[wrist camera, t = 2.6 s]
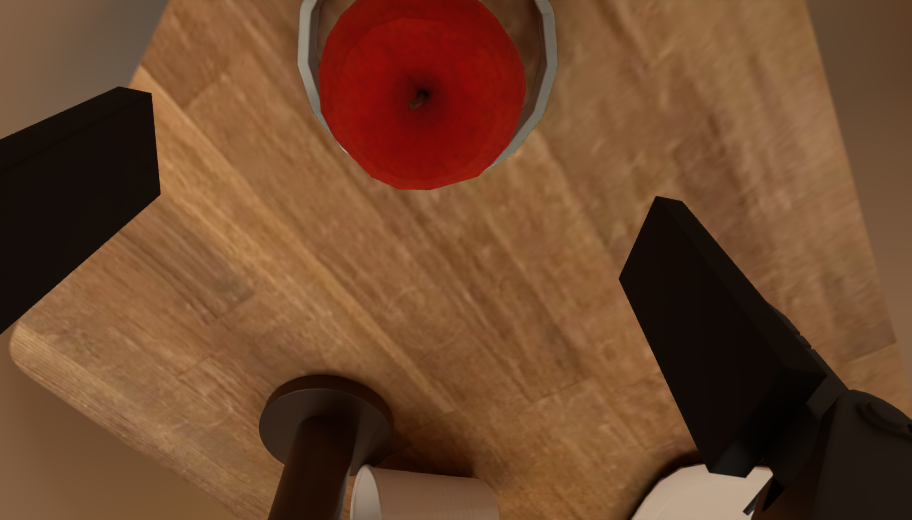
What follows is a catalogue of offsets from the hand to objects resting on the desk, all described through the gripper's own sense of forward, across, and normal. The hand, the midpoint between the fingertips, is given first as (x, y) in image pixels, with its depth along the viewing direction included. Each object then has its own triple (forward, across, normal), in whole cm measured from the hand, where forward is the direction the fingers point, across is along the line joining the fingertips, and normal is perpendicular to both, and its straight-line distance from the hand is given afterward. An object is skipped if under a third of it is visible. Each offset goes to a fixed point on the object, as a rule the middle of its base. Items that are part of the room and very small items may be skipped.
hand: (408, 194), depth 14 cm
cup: (+15, +12, -37) cm, 42 cm away
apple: (+18, 0, 0) cm, 19 cm away
